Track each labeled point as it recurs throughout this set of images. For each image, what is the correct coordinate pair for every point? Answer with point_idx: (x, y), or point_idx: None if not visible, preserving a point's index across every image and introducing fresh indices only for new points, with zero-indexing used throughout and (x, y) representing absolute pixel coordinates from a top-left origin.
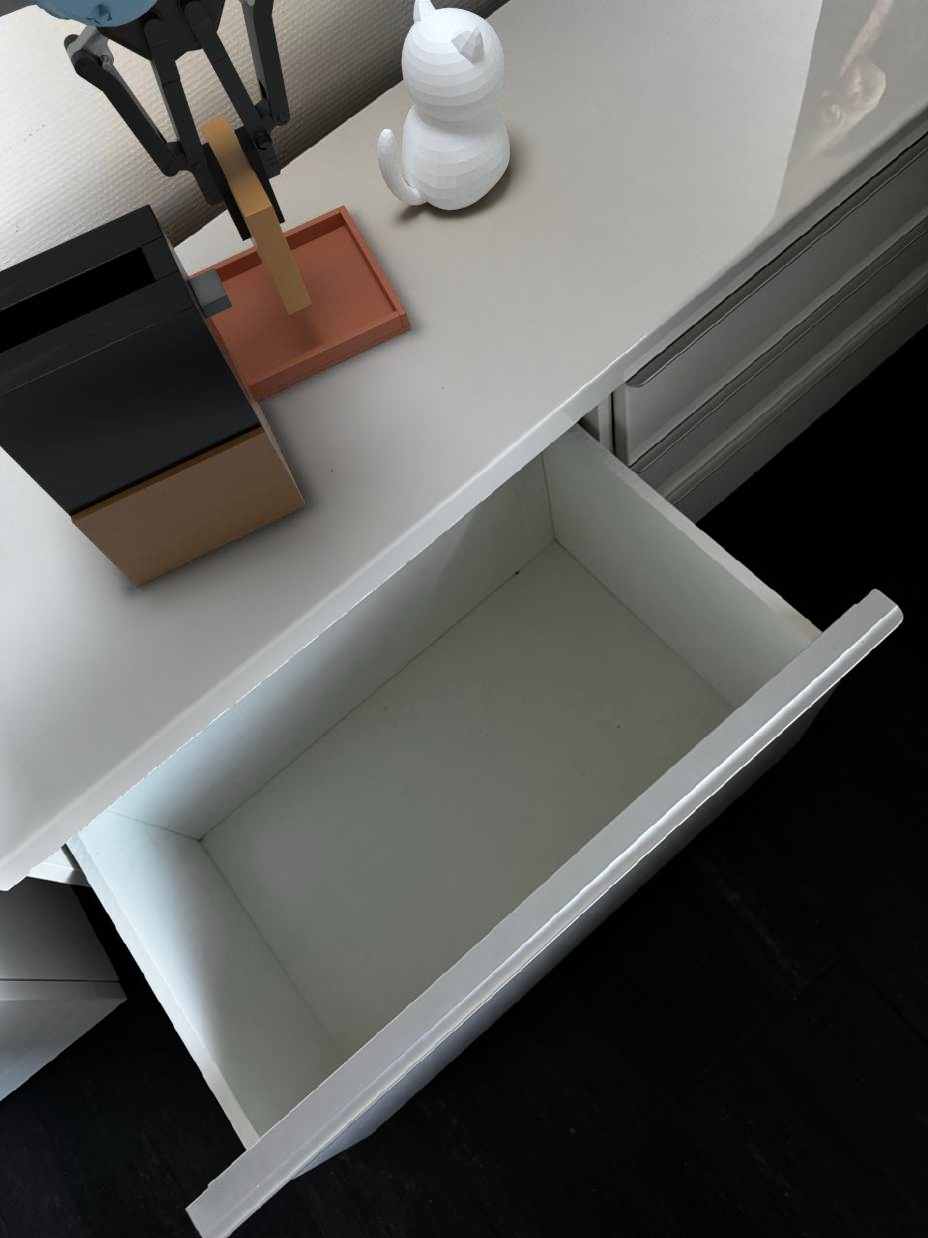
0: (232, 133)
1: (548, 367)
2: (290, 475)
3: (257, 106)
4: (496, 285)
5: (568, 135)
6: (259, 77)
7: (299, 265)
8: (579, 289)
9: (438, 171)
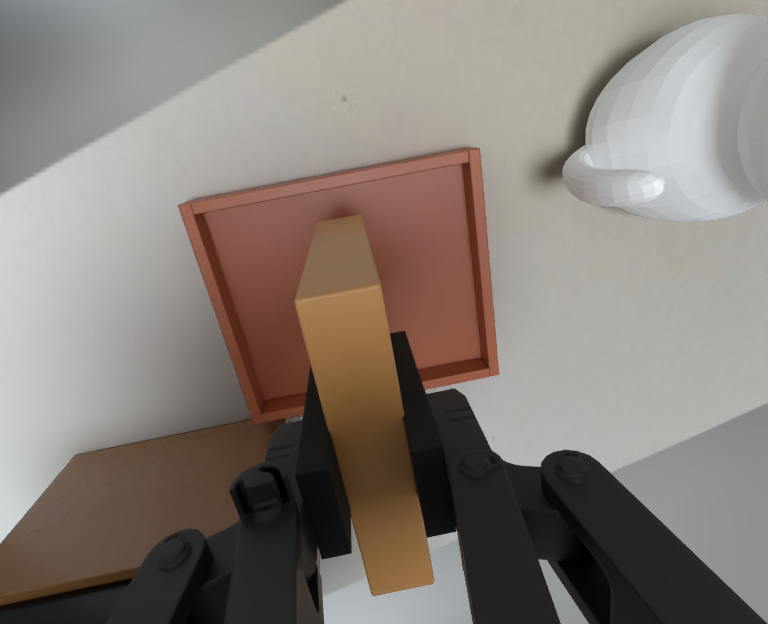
0: (390, 367)
1: (601, 443)
2: (317, 554)
3: (525, 516)
4: (604, 329)
5: None
6: (619, 609)
7: (376, 216)
8: (680, 364)
9: (657, 207)
